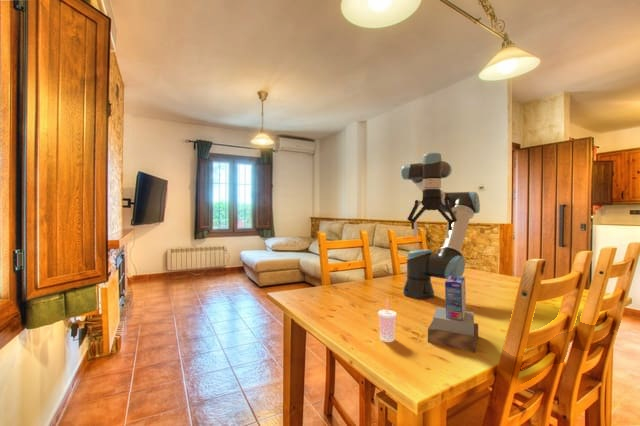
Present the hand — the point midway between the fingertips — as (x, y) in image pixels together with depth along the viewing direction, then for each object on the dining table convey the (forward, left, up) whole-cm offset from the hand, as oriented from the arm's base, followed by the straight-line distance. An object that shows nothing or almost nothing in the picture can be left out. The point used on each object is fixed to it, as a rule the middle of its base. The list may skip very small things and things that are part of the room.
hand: (431, 237), depth 130 cm
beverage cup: (-6, -39, -32) cm, 51 cm away
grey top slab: (+13, -27, -27) cm, 41 cm away
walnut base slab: (+13, -27, -32) cm, 44 cm away
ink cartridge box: (+14, -27, -24) cm, 38 cm away
